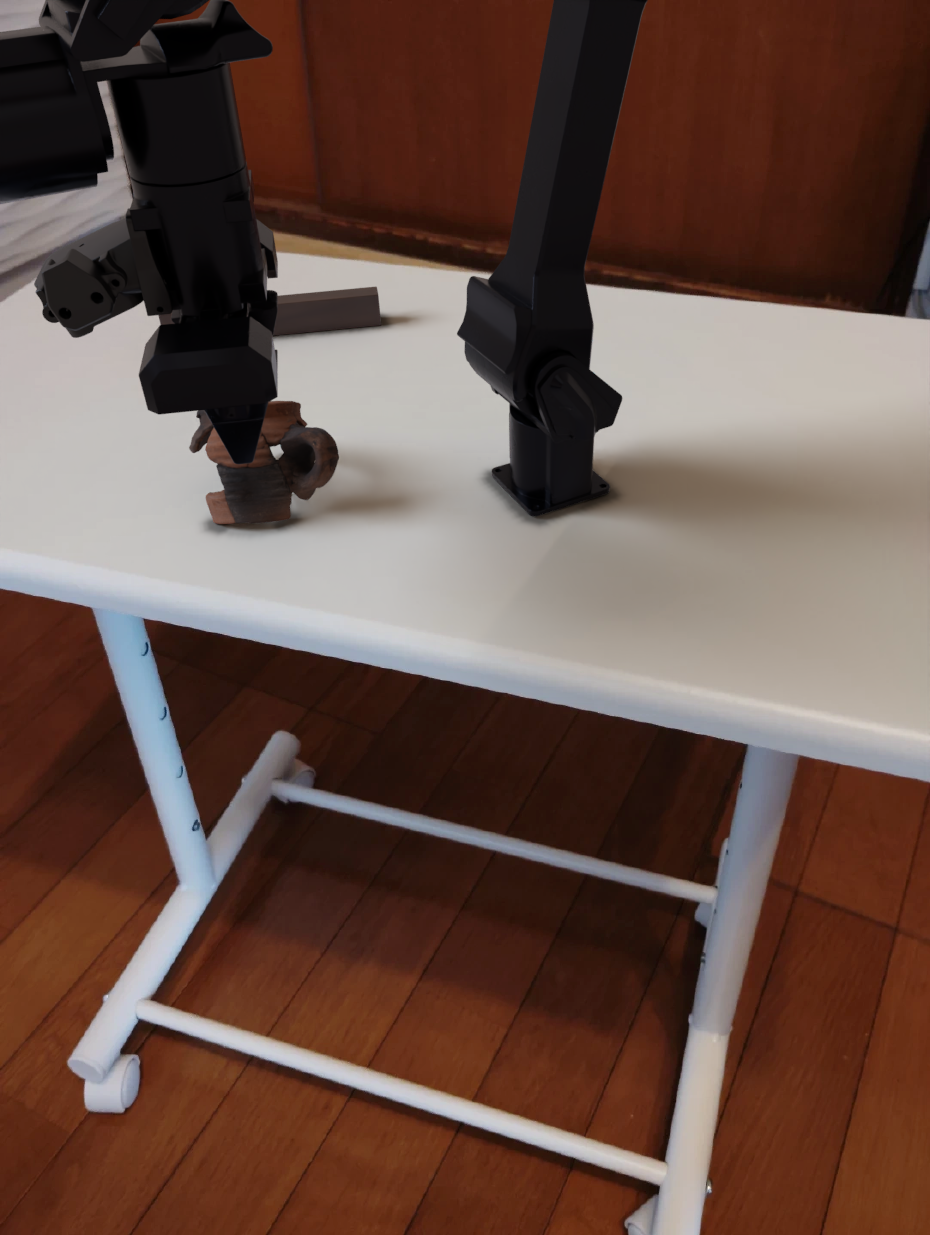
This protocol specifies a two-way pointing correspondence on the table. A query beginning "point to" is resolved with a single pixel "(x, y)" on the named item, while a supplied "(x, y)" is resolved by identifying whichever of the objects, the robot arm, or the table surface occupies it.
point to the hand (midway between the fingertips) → (244, 444)
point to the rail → (322, 311)
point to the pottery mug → (268, 467)
